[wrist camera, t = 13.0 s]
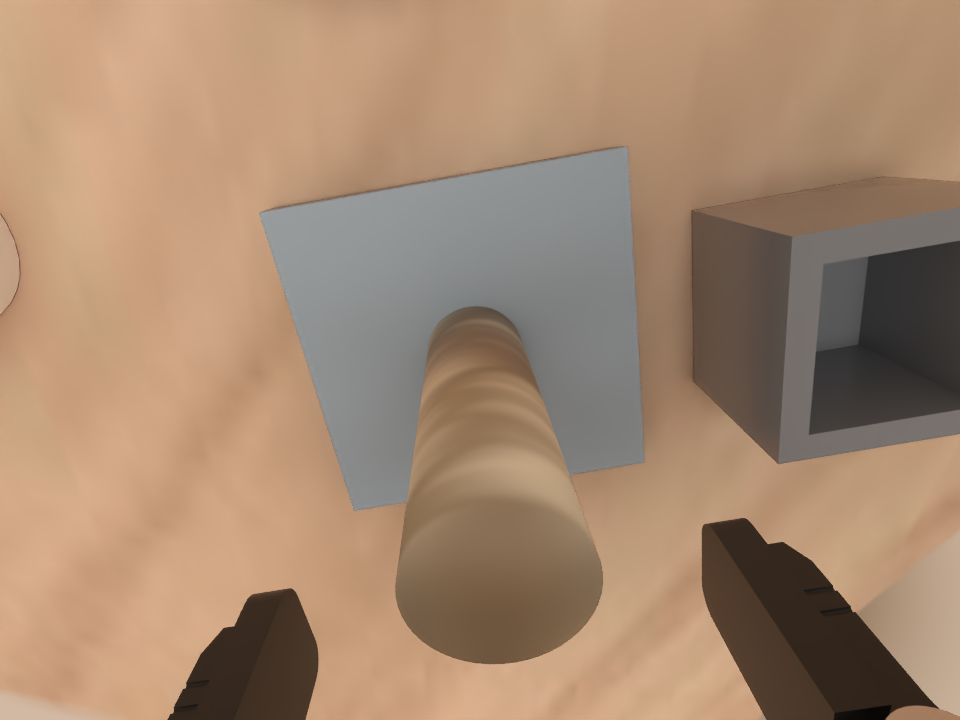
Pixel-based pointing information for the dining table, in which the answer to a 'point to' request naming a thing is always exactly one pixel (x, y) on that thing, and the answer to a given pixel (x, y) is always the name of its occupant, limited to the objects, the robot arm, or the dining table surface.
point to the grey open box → (832, 315)
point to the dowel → (491, 506)
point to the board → (467, 304)
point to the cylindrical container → (7, 266)
